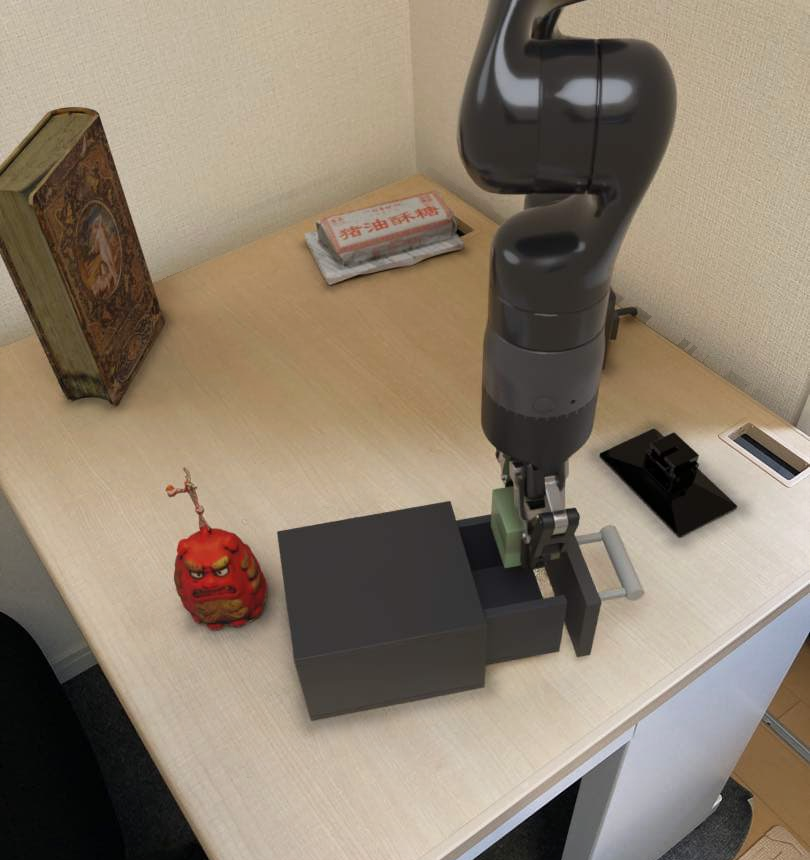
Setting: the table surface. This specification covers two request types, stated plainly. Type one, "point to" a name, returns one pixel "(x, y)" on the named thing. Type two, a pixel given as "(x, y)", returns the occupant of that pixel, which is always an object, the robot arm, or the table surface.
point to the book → (77, 255)
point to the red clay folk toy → (217, 573)
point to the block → (508, 526)
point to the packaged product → (383, 236)
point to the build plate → (668, 480)
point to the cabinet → (382, 610)
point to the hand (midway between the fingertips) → (525, 539)
